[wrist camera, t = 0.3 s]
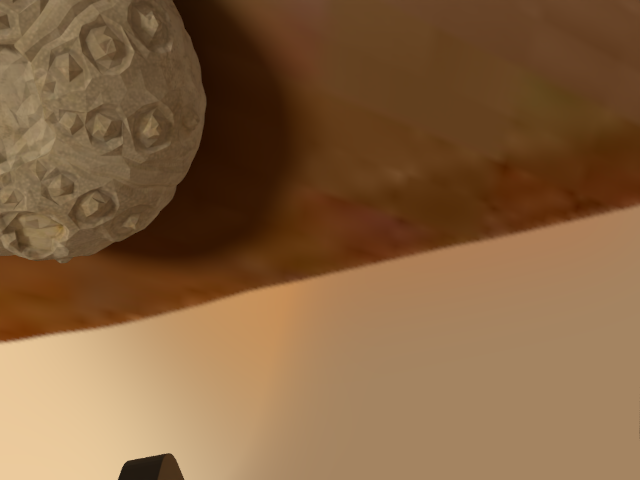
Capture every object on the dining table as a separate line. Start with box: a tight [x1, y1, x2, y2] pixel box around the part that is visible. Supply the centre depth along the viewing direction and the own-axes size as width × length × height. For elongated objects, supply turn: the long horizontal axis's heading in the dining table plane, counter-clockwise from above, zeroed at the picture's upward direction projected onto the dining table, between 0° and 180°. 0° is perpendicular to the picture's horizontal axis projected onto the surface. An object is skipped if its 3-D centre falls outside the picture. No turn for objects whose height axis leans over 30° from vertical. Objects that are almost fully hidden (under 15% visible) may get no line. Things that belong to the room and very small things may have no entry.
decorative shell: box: [0, 0, 206, 263], centre depth 30 cm, size 18×18×10 cm
